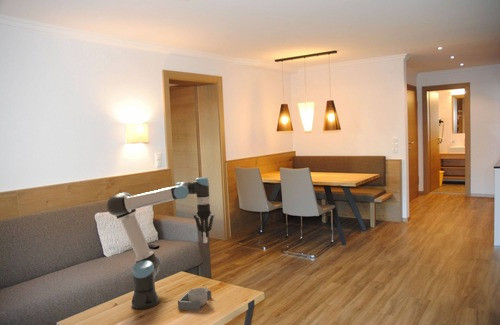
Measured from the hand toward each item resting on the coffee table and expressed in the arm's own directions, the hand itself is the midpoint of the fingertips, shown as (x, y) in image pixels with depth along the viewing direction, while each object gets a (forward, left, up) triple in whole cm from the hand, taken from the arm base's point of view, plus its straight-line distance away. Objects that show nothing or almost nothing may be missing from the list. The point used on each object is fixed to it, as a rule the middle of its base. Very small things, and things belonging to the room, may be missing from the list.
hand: (205, 242), depth 244 cm
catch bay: (-1, -17, -30) cm, 35 cm away
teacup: (+1, -17, -31) cm, 35 cm away
